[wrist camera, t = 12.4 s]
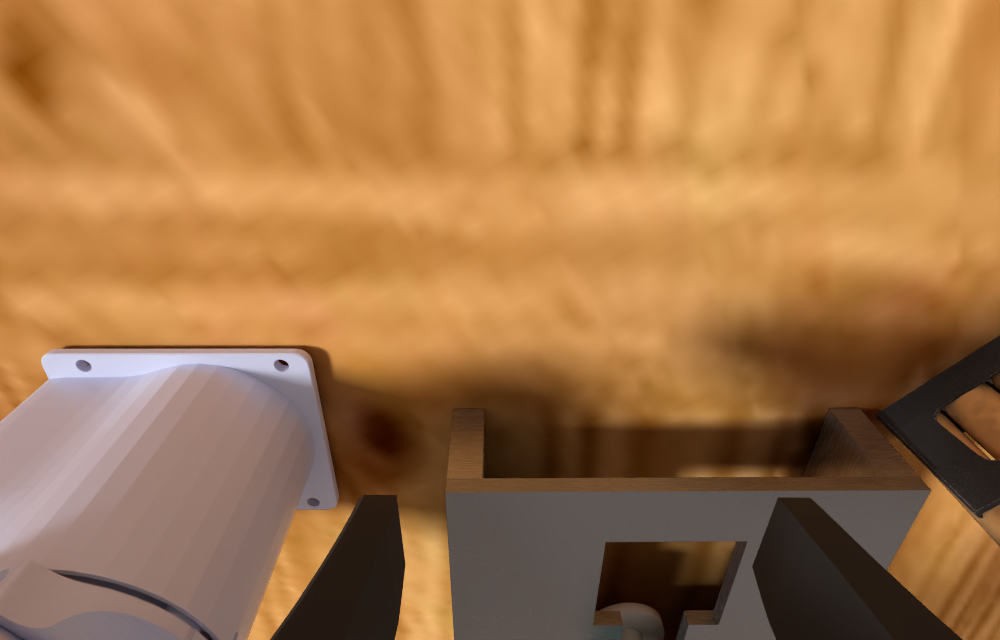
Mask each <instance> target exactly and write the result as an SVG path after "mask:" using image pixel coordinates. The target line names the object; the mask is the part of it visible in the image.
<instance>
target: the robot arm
mask: <svg viewBox="0 0 1000 640" xmlns="http://www.w3.org/2000/svg"><path fill="white" fill-rule="evenodd" d="M84 360H85V361H87V362H88V363H89V364H90V365H89V364H87V363H85V361H84ZM278 360H284V361H286V362H287V363H288V365H282V364H281V363H279V361H278ZM41 363H42V366H43V368H44V370H45V372H46V374H47V376H48V378H49V380H47V381H46V382H45V383H44V384H43V385H42V386H41V387H39V388H38V389H37V390H36V391H35V392H34V393H33V394H32V395H30V396H29V397H28V398H27V399H26V400H25V401H24V402H22V403H21V404H20V405H19V406H18V407H17V408H16V409H14V410H13V411H12V412H11V413H10V414H9V415H8V416H7V417H5V418H4V419H3V420H2V421H1V422H0V640H247V638H248V636H249V633H250V630H251V628H252V625H253V622H254V620H255V617H256V615H257V612H258V609H259V607H260V604H261V601H262V599H263V596H264V593H265V591H266V588H267V585H268V583H269V580H270V577H271V575H272V572H273V570H274V567H275V564H276V562H277V559H278V556H279V554H280V551H281V548H282V546H283V543H284V540H285V538H286V535H287V532H288V530H289V527H290V524H291V522H292V519H293V517H294V514H295V511H296V510H327V509H332V508H334V507H336V505H337V503H338V500H339V493H338V488H337V483H336V478H335V472H334V467H333V462H332V457H331V452H330V447H329V442H328V437H327V432H326V427H325V422H324V417H323V412H322V407H321V402H320V397H319V392H318V387H317V382H316V377H315V372H314V366H313V361H312V358H311V356H310V355H309V354H308V353H307V352H305V351H303V350H301V349H52V350H50V351H49V352H48V353H46V354H45V355H44V356H43V357H42V359H41ZM313 498H316V499H313ZM752 568H753V571H754V575H755V578H756V581H757V585H758V588H759V592H760V595H761V599H762V602H763V605H764V608H765V611H766V614H767V618H768V621H769V624H770V626H771V628H772V631H773V633H774V636H775V638H776V640H962V639H961V638H960V637H959V636H958V635H957V634H955V633H954V632H953V631H952V630H951V629H950V628H949V627H947V626H946V625H945V624H944V623H943V622H942V621H941V620H940V619H938V618H937V617H936V616H935V615H934V614H933V613H932V612H931V611H930V610H928V609H927V608H926V607H925V606H924V605H923V604H922V603H921V602H920V601H919V600H918V599H916V598H915V597H914V596H913V595H912V594H911V593H910V592H909V591H908V590H907V589H906V588H905V587H903V586H902V585H901V584H900V583H899V582H898V581H897V580H896V579H895V578H894V577H893V576H892V575H891V574H890V573H889V572H888V571H886V570H885V569H884V568H883V567H882V566H881V565H880V564H879V563H878V562H877V561H876V560H875V559H874V558H873V557H872V556H871V555H870V554H869V553H868V552H867V551H866V550H865V549H863V548H862V547H861V546H860V545H859V544H858V543H857V542H856V541H855V540H854V539H853V538H852V537H851V536H850V535H849V534H848V533H847V532H846V531H845V530H844V529H843V528H842V527H841V526H840V525H839V524H838V523H837V522H836V521H835V520H833V519H832V518H831V517H830V516H829V515H828V514H827V513H826V512H825V511H824V510H823V509H822V508H821V507H820V506H819V505H818V504H817V503H816V502H815V501H813V500H812V499H811V498H793V497H778V499H777V501H776V504H775V507H774V509H773V512H772V515H771V517H770V520H769V523H768V525H767V528H766V531H765V533H764V536H763V539H762V541H761V544H760V547H759V549H758V552H757V555H756V557H755V560H754V563H753V565H752ZM404 571H405V559H404V551H403V543H402V535H401V527H400V519H399V511H398V503H397V495H364V496H363V497H361V498H360V499H359V500H358V502H357V504H356V506H355V508H354V510H353V512H352V514H351V515H350V517H349V519H348V521H347V523H346V524H345V526H344V528H343V530H342V532H341V533H340V535H339V537H338V538H337V540H336V542H335V543H334V545H333V547H332V548H331V550H330V552H329V553H328V555H327V557H326V558H325V560H324V561H323V563H322V565H321V566H320V568H319V569H318V571H317V572H316V574H315V575H314V577H313V578H312V580H311V581H310V583H309V585H308V586H307V588H306V589H305V591H304V592H303V594H302V595H301V597H300V598H299V600H298V601H297V603H296V604H295V606H294V607H293V609H292V610H291V612H290V613H289V614H288V616H287V617H286V618H285V620H284V621H283V623H282V624H281V625H280V627H279V628H278V630H277V631H276V632H275V634H274V635H273V636H272V638H271V639H270V640H395V635H396V631H397V626H398V621H399V614H400V606H401V597H402V589H403V580H404Z"/></svg>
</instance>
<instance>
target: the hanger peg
mask: <svg viewBox="0 0 1000 640" xmlns="http://www.w3.org/2000/svg"><path fill="white" fill-rule="evenodd" d="M599 611H620V613H621V618H622V622H623V629H622V634H621V638H620V640H663V638H664V628H663V624H662V621H661V617H660V615H659V613H658V612H657V611H656V610H654V609H653V608H651V607H649V606H647V605H644V604H639V603H619V604H614V605H611V606H608V607H605V608H603V609H601V610H599Z"/></svg>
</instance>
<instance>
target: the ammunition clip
mask: <svg viewBox="0 0 1000 640" xmlns="http://www.w3.org/2000/svg"><path fill="white" fill-rule="evenodd" d="M877 418H878V419H879V420H880V421H881V422H882V423H883V424H884V425H885V426H886V427H887V428H888V429H889V430H890V431H891V432H892V433H893V434H894V435H895V436H896V437H897V438H898V439H899V440H900V441H901V442H902V443H903V444H904V445H905V446H906V447H907V448H908V449H909V450H910V451H911V452H912V453H913V454H914V455H915V456H916V457H917V458H918V459H919V460H920V461H921V462H922V463H923V464H924V465H925V466H926V467H927V468H928V469H929V470H930V471H931V472H932V473H933V474H934V475H935V477H936V478H937V479H938V480H939V481H940V482H941V483H942V484H943V485H944V486H945V487H946V489H947V490H948V491H949V492H950V493H951V494H952V495H953V496H954V497H955V498H956V499H957V501H958V502H959V503H960V504H961V505H962V506H963V507H964V508H965V509H966V510H967V511H968V513H969V514H970V515H971V516H972V517H973V518H974V519H975V520H976V521H977V522H978V523H979V525H980V526H981V527H982V528H983V529H984V530H985V531H986V532H987V533H988V534H989V535H990V537H991V538H992V539H993V540H994V541H995V542H996V543H997V544H998V545H999V546H1000V336H998V337H997V338H995V339H994V340H992V341H990V342H989V343H987V344H986V345H984V346H983V347H981V348H979V349H978V350H976V351H975V352H973V353H972V354H970V355H969V356H967V357H965V358H964V359H962V360H961V361H959V362H958V363H956V364H954V365H953V366H951V367H950V368H948V369H947V370H945V371H943V372H942V373H940V374H939V375H937V376H936V377H934V378H932V379H931V380H929V381H928V382H926V383H925V384H923V385H922V386H920V387H918V388H917V389H915V390H914V391H912V392H911V393H909V394H907V395H906V396H904V397H903V398H901V399H900V400H898V401H896V402H895V403H893V404H892V405H890V406H889V407H887V408H885V409H884V410H882V411H881V412H879V413H878V414H877ZM965 431H966V432H967V433H968V434H969V435H970V436H971V437H972V438H973V439H974V440H975V441H976V442H977V443H978V444H980V445H981V446H982V447H983V448H984V449H985V450H986V451H987V452H988V453H989V454H990V455H991V456H992V457H994V458H995V459H996V460H991V459H990V458H988V457H987V456H986V455H985V454H984V453H983V452H982V451H981V450H980V449H979V448H978V447H977V446H976V445H975V444H974V443H973V442H972V441H971V440H970V439H969V438H968V437H967V436H966V435H964V434H963V433H964V432H965Z"/></svg>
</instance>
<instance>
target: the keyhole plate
mask: <svg viewBox="0 0 1000 640" xmlns="http://www.w3.org/2000/svg"><path fill="white" fill-rule="evenodd" d="M930 492H931V489H930V488H929V487H928V486H927V485H926V484H925V483H924V481H923V480H922V479H921V478H920V477H919V476H918V475H917V473H916V472H915V471H914V470H913V469H912V468H911V467H910V465H909V464H908V463H907V462H906V461H905V460H904V459H903V457H902V456H901V455H900V454H899V453H898V452H897V451H896V449H895V448H894V447H893V446H892V445H891V444H890V443H889V441H888V440H887V439H886V438H885V437H884V436H883V435H882V433H881V432H880V431H879V430H878V429H877V428H876V426H875V425H874V424H873V423H872V422H871V421H870V420H869V418H868V417H867V416H866V415H865V414H864V413H863V412H862V410H861V409H860V408H829V411H828V413H827V416H826V418H825V421H824V424H823V426H822V429H821V431H820V434H819V436H818V439H817V442H816V444H815V447H814V449H813V452H812V454H811V457H810V460H809V462H808V465H807V467H806V470H805V472H804V475H803V477H699V478H485V471H484V409H453V415H452V426H451V437H450V447H449V458H448V468H447V479H446V489H445V497H446V513H447V529H448V546H449V562H450V578H451V594H452V611H453V627H454V640H620V638H621V634H622V629H623V622H622V618H621V613H620V611H595V608H596V602H597V595H598V589H599V582H600V576H601V569H602V563H603V556H604V550H605V543H606V542H711V541H737V542H736V545H735V548H734V551H733V554H732V557H731V560H730V563H729V566H728V569H727V572H726V575H725V578H724V581H723V584H722V587H721V590H720V593H719V596H718V599H717V602H716V605H715V608H714V610H689V611H684V613H683V616H682V620H681V623H680V627H679V630H678V634H677V637H676V640H776V638H775V636H774V633H773V631H772V628H771V626H770V624H769V621H768V618H767V614H766V611H765V608H764V605H763V602H762V599H761V595H760V592H759V588H758V585H757V581H756V578H755V575H754V571H753V568H752V565H753V563H754V560H755V557H756V555H757V552H758V549H759V547H760V544H761V541H762V539H763V536H764V533H765V531H766V528H767V525H768V523H769V520H770V517H771V515H772V512H773V509H774V507H775V504H776V501H777V499H778V497H793V498H811V499H812V500H813V501H815V502H816V503H817V504H818V505H819V506H820V507H821V508H822V509H823V510H824V511H825V512H826V513H827V514H828V515H829V516H830V517H831V518H832V519H833V520H835V521H836V522H837V523H838V524H839V525H840V526H841V527H842V528H843V529H844V530H845V531H846V532H847V533H848V534H849V535H850V536H851V537H852V538H853V539H854V540H855V541H856V542H857V543H858V544H859V545H860V546H861V547H862V548H863V549H865V550H866V551H867V552H868V553H869V554H870V555H871V556H872V557H873V558H874V559H875V560H876V561H877V562H878V563H879V564H880V565H881V566H882V567H883V568H884V569H885V570H887V568H888V567H889V565H890V563H891V561H892V559H893V558H894V556H895V554H896V552H897V551H898V549H899V547H900V545H901V543H902V542H903V540H904V538H905V536H906V534H907V533H908V531H909V529H910V527H911V526H912V524H913V522H914V520H915V518H916V517H917V515H918V513H919V511H920V509H921V508H922V506H923V504H924V502H925V501H926V499H927V497H928V495H929V493H930Z"/></svg>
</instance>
